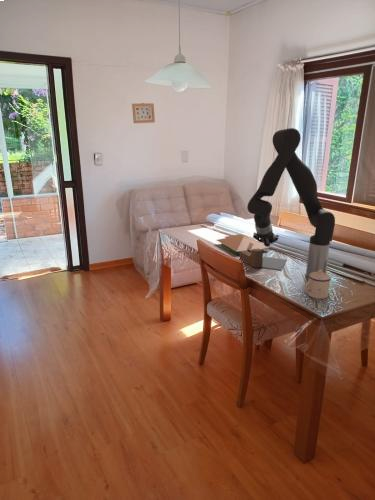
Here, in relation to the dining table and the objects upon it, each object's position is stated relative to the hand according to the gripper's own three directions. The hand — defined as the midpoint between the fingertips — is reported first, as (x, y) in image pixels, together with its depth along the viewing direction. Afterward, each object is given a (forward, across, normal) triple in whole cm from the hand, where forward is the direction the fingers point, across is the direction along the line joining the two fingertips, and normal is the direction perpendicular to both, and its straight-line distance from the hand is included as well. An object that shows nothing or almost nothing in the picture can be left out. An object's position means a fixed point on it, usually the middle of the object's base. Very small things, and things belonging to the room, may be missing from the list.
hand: (267, 245), depth 189 cm
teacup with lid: (-8, -27, +26) cm, 38 cm away
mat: (+16, -2, +3) cm, 16 cm away
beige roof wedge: (+31, +22, -12) cm, 40 cm away
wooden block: (+4, +3, +6) cm, 8 cm away
